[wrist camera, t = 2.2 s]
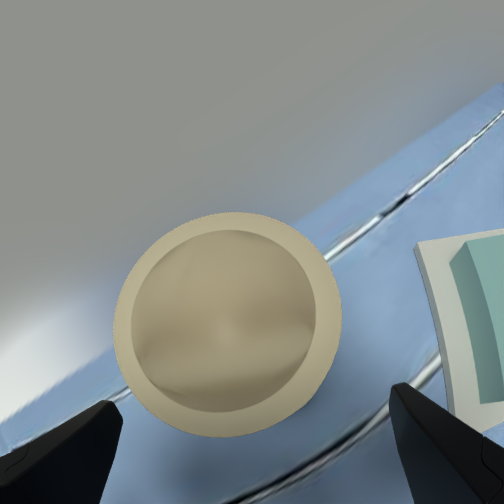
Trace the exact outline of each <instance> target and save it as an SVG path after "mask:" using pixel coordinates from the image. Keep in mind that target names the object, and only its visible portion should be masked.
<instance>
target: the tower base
mask: <svg viewBox="0 0 504 504" xmlns="http://www.w3.org/2000/svg"><path fill="white" fill-rule="evenodd" d="M414 252H415V255H416V258H417V262H418V265H419V268H420V271H421V275H422V278H423V281H424V285H425V289H426V292H427V296H428V300H429V304H430V308H431V312H432V316H433V320H434V324H435V329H436V334H437V338H438V343H439V348H440V354H441V359H442V365H443V371H444V378H445V385H446V393H447V401H448V411H449V413H451V414H452V415H454V416H455V417H457V418H458V419H460V420H461V421H463V422H464V423H466V424H467V425H469V426H470V427H472V428H473V429H475V430H476V431H478V432H479V433H481V432H484V431H486V430H488V429H490V428H492V427H494V426H496V425H498V424H500V423H502V422H504V228H502V229H496V230H490V231H484V232H478V233H472V234H466V235H460V236H454V237H448V238H441V239H435V240H429V241H423V242H417V244H416V246H415V248H414Z"/></svg>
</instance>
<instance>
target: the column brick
mask: <svg viewBox="0 0 504 504" xmlns="http://www.w3.org/2000/svg"><path fill="white" fill-rule="evenodd" d="M341 327H342V308H341V299H340V295H339V290H338V286H337V283H336V280H335V278H334V276H333V273H332V271H331V269H330V267H329V265H328V264H327V262H326V260H325V258H324V257H323V256H322V254H321V253H320V252H319V251H318V249H317V248H316V247H315V246H314V245H313V244H312V243H311V242H310V241H309V240H308V239H307V238H306V237H305V236H303V235H302V234H301V233H299V232H298V231H297V230H295V229H294V228H292V227H290V226H288V225H286V224H285V223H283V222H281V221H278V220H275V219H273V218H270V217H267V216H263V215H258V214H253V213H244V212H228V213H218V214H213V215H208V216H204V217H201V218H198V219H195V220H192V221H189V222H187V223H185V224H183V225H181V226H179V227H177V228H175V229H174V230H172V231H170V232H169V233H167V234H166V235H164V236H163V237H162V238H160V239H159V240H158V241H157V242H155V243H154V244H153V245H152V246H151V247H150V248H149V249H148V250H147V251H146V252H145V253H144V254H143V255H142V257H141V258H140V259H139V260H138V262H137V263H136V265H135V266H134V267H133V269H132V270H131V272H130V274H129V275H128V277H127V279H126V281H125V283H124V285H123V288H122V290H121V292H120V295H119V299H118V302H117V305H116V310H115V316H114V327H113V338H114V348H115V353H116V358H117V362H118V365H119V368H120V371H121V373H122V375H123V377H124V379H125V381H126V383H127V385H128V387H129V388H130V390H131V391H132V393H133V394H134V396H135V397H136V398H137V399H138V401H139V402H140V403H141V404H142V405H143V406H144V407H145V408H146V409H147V410H148V411H150V412H151V413H152V414H153V415H154V416H156V417H157V418H158V419H160V420H162V421H163V422H165V423H167V424H168V425H170V426H172V427H174V428H177V429H179V430H182V431H184V432H187V433H191V434H195V435H199V436H206V437H216V438H222V437H237V436H242V435H247V434H252V433H255V432H258V431H261V430H263V429H266V428H269V427H271V426H273V425H275V424H276V423H278V422H280V421H282V420H284V419H286V418H287V417H289V416H290V415H292V414H293V413H295V412H296V411H298V410H299V409H300V408H302V407H303V406H304V405H306V404H307V403H308V402H309V401H310V400H311V398H312V397H313V396H314V394H315V393H316V391H317V390H318V388H319V387H320V385H321V384H322V382H323V380H324V379H325V377H326V375H327V373H328V371H329V369H330V367H331V366H332V363H333V360H334V358H335V355H336V352H337V349H338V345H339V340H340V335H341Z"/></svg>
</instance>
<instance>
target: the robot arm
mask: <svg viewBox="0 0 504 504" xmlns="http://www.w3.org/2000/svg"><path fill="white" fill-rule="evenodd" d="M389 412H390V416H391V421H392V425H393V430H394V434H395V439H396V444H397V449H398V453H399V456H400V459H401V462H402V465H403V468H404V471H405V474H406V477H407V480H408V484H409V487H410V490H411V493H412V497H413V500H414V503H415V504H504V448H503V447H501V446H500V445H498V444H496V443H495V442H493V441H492V440H490V439H489V438H487V437H485V436H484V437H483V435H482V434H481V433H479V432H478V431H476V430H475V429H473V428H472V427H470V426H469V425H467V424H466V423H464V422H463V421H461V420H460V419H458V418H457V417H455V416H454V415H452V414H451V413H449V412H448V411H446V410H445V409H444V408H442V407H441V406H439V405H438V404H436V403H435V402H433V401H432V400H430V399H429V398H427V397H426V396H424V395H423V394H422V393H420V392H419V391H417V390H416V389H414V388H413V387H411V386H410V385H409V384H407V383H405V382H403V383H399V384H395V385H393V386H392V388H391V393H390V399H389ZM122 425H123V418H122V416H121V414H120V412H119V411H118V409H117V407H116V405H115V404H114V402H112V401H108V400H101V401H100V402H98V403H96V404H95V405H93V406H91V407H90V408H88V409H86V410H85V411H83V412H81V413H80V414H78V415H76V416H75V417H73V418H71V419H70V420H68V421H66V422H65V423H63V424H61V425H60V426H58V427H56V428H54V429H53V430H51V431H49V432H48V433H46V434H44V435H42V436H41V437H39V438H37V439H35V440H33V441H32V442H31V443H28V444H26V445H24V446H23V447H21V448H19V449H17V450H15V451H13V452H11V453H8V454H6V455H4V456H2V457H0V504H99V503H100V500H101V497H102V494H103V491H104V488H105V485H106V482H107V479H108V476H109V473H110V470H111V467H112V464H113V461H114V458H115V454H116V450H117V446H118V441H119V437H120V433H121V429H122Z"/></svg>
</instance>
